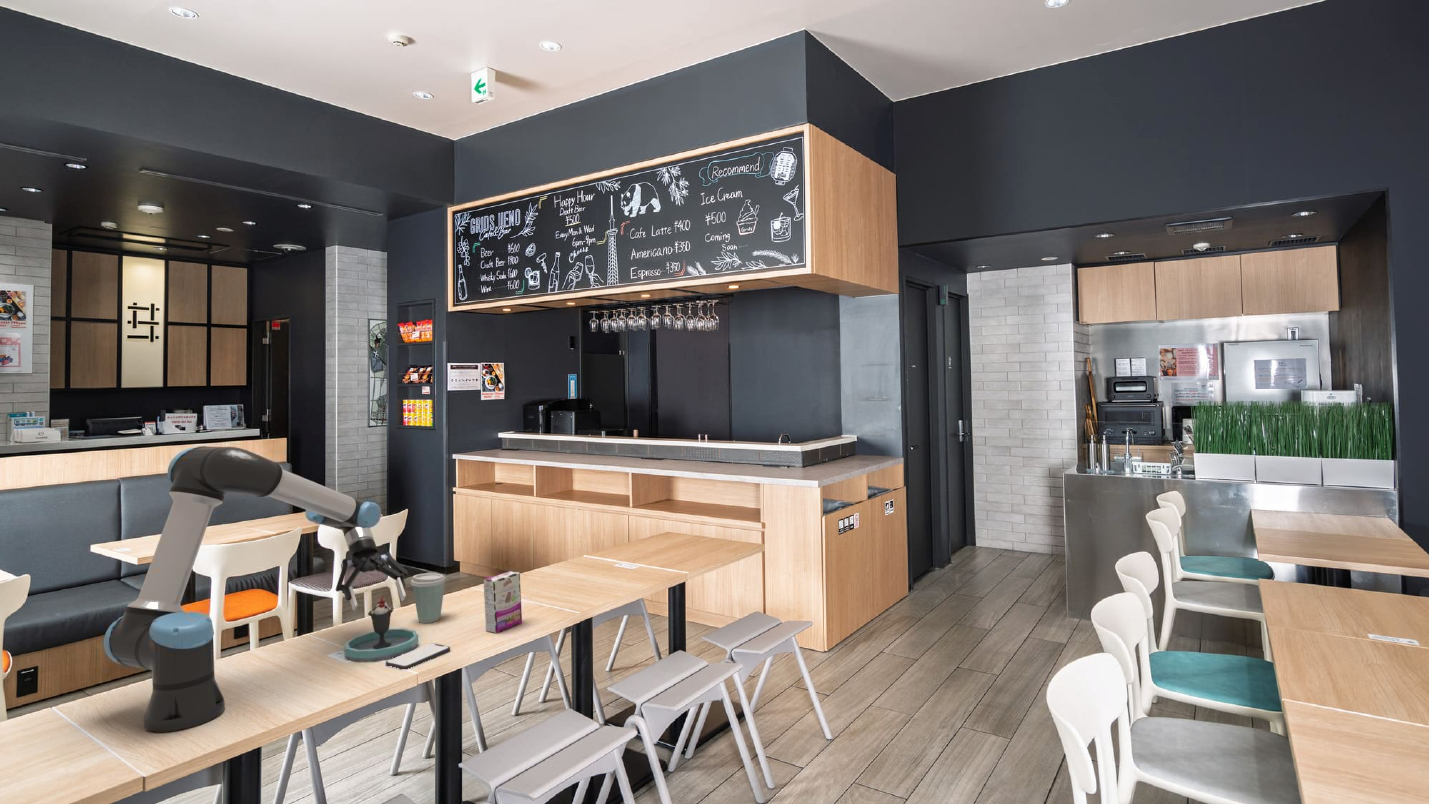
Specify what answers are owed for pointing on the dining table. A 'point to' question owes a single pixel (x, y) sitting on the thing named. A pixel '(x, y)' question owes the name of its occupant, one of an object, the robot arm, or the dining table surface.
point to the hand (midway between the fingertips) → (380, 603)
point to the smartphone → (418, 656)
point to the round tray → (375, 641)
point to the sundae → (381, 622)
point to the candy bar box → (502, 601)
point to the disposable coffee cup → (428, 596)
